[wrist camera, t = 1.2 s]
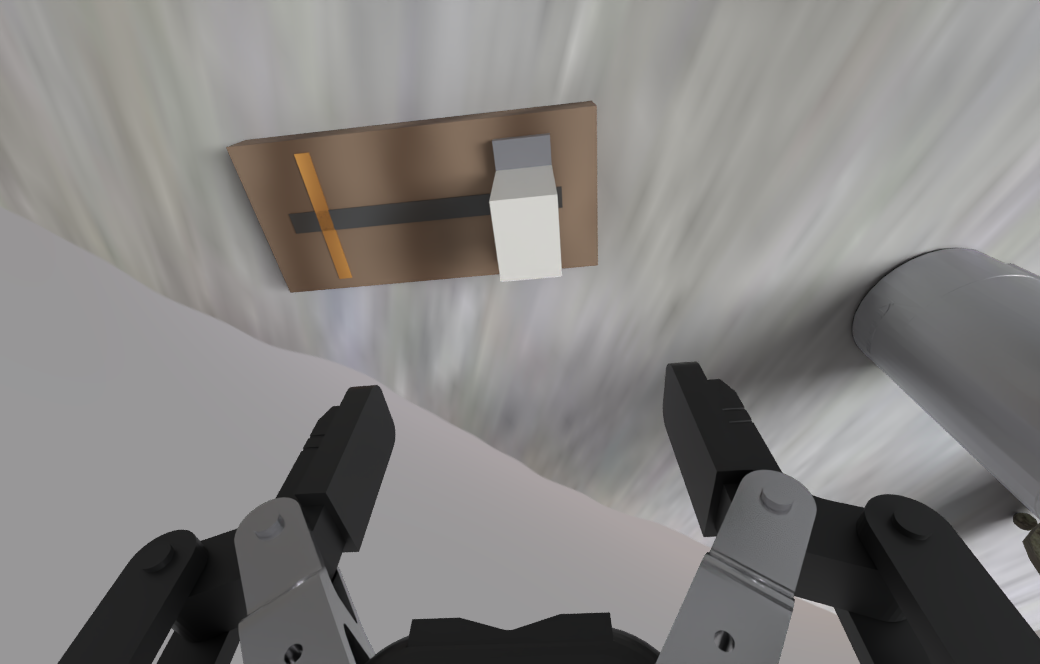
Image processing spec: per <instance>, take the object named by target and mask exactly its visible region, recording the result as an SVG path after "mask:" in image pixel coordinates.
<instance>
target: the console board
mask: <svg viewBox="0 0 1040 664" xmlns="http://www.w3.org/2000/svg"><path fill="white" fill-rule="evenodd" d="M546 133H550V145H551V162H552V169H553V174H554V179H555V185H556V190H557V196H558V214H559V232H560V249H561V267H562V268H573V267H584V266H596V265H598V235H597V106H596V105H595V104H594V103H593V102H592V101H586V102H577V103H569V104H560V105H551V106H542V107H533V108H525V109H516V110H507V111H498V112H489V113H481V114H472V115H463V116H454V117H445V118H436V119H428V120H419V121H410V122H401V123H392V124H384V125H375V126H366V127H357V128H348V129H340V130H331V131H322V132H313V133H304V134H295V135H287V136H278V137H269V138H260V139H251V140H245V141H242V142H239V143H237V144H234V145H231V146H229V147H226V148H227V151H228V153H229V155H230V157H231V160H232V162H233V164H234V166H235V169H236V171H237V173H238V175H239V178H240V180H241V182H242V184H243V187H244V189H245V191H246V193H247V196H248V198H249V200H250V202H251V205H252V207H253V209H254V211H255V214H256V216H257V218H258V220H259V223H260V225H261V227H262V229H263V232H264V234H265V236H266V238H267V241H268V243H269V245H270V247H271V250H272V252H273V254H274V256H275V259H276V261H277V263H278V265H279V268H280V270H281V272H282V274H283V277H284V279H285V281H286V284H287V286H288V288H289V290H290V293H291V292H303V291H314V290H325V289H336V288H348V287H359V286H370V285H381V284H393V283H404V282H415V281H427V280H438V279H449V278H460V277H472V276H483V275H494V274H500V273H499V266H498V259H497V252H496V245H495V238H494V231H493V224H492V217H491V210H490V203H489V200H490V196H491V191H492V187H493V182H494V177H495V173H496V167H495V160H494V152H493V144H492V140H493V139H500V138H509V137H518V136H528V135H537V134H546Z"/></svg>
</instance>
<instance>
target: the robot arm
mask: <svg viewBox="0 0 1040 664" xmlns="http://www.w3.org/2000/svg"><path fill="white" fill-rule="evenodd" d="M852 327H853V337H854V340H855V343H856V345H857V346H858V347H859V348H860V349H861V351H862V352H863V353H864V354H865V355H867V356H868V357H869V358H870V359H871V360H872V361H873V362H874V363H875V364H876V365H877V366H878V367H879V368H880V369H881V370H882V371H883V372H885V373H886V374H887V375H888V376H889V377H890V378H891V379H892V380H893V381H894V382H895V383H896V384H897V385H898V386H899V387H900V388H901V389H902V390H903V391H904V392H905V393H906V394H907V395H908V396H909V397H911V398H912V399H913V400H914V401H915V402H916V403H917V404H918V405H919V406H920V407H921V408H922V409H923V410H924V411H925V412H926V413H927V414H929V415H930V416H931V417H932V418H933V419H934V420H935V421H936V422H937V423H938V424H939V425H940V426H941V427H942V428H943V429H944V430H945V431H946V432H948V433H949V434H950V435H951V436H952V437H953V438H954V439H955V440H956V441H957V442H958V443H959V444H960V445H961V446H962V447H963V448H964V449H966V450H967V451H968V452H969V453H970V454H971V455H972V456H973V457H974V458H975V459H976V460H977V461H978V462H979V463H980V464H981V465H982V466H984V467H985V468H986V469H987V470H988V471H989V472H990V473H991V474H992V475H993V476H994V477H995V478H996V479H997V480H998V481H999V482H1000V483H1001V484H1003V485H1004V486H1005V487H1006V488H1007V489H1008V490H1009V491H1010V492H1011V493H1012V494H1013V495H1014V496H1015V497H1016V498H1017V499H1018V500H1019V501H1021V502H1022V503H1023V504H1024V505H1025V506H1026V507H1027V508H1028V509H1029V510H1030V511H1031V512H1032V513H1033V514H1034V515H1035V516H1036V517H1037V518H1039V519H1040V276H1038V275H1036V274H1034V273H1031V272H1029V271H1027V270H1025V269H1023V268H1021V267H1019V266H1017V265H1015V264H1011V263H1010V264H1005V263H1003V262H1001V261H999V260H997V259H995V258H993V257H990V256H988V255H986V254H984V253H981V252H979V251H976V250H973V249H965V248H953V249H943V250H939V251H935V252H931V253H927V254H925V255H922V256H920V257H917V258H915V259H912V260H910V261H908V262H907V263H905V264H903V265H901V266H899V267H898V268H896V269H894V270H893V271H892V272H890V273H889V274H888V275H886V276H885V277H884V278H882V279H881V280H880V281H879V282H878V283H877V284H876V285H875V286H874V287H873V288H872V289H871V290H870V291H869V292H868V294H867V295H866V296H865V298H864V299H863V301H862V302H861V304H860V306H859V308H858V310H857V312H856V314H855V317H854V321H853V325H852ZM663 417H664V423H665V427H666V430H667V433H668V436H669V439H670V442H671V444H672V447H673V450H674V453H675V456H676V459H677V462H678V465H679V468H680V470H681V473H682V476H683V479H684V482H685V485H686V488H687V491H688V493H689V496H690V499H691V502H692V505H693V508H694V511H695V514H696V517H697V519H698V522H699V525H700V528H701V531H702V534H703V537H714V536H717V537H716V539H715V541H714V544H713V546H712V548H711V550H710V552H709V553H708V552H707V553H706V554H705V556H704V558H703V560H702V562H701V564H700V566H699V568H698V570H697V573H696V575H695V577H694V579H693V582H692V584H691V586H690V588H689V591H688V593H687V595H686V597H685V600H684V602H683V604H682V606H681V608H680V610H679V613H678V615H677V617H676V619H675V622H674V624H673V626H672V628H671V630H670V633H669V635H668V637H667V639H666V642H665V644H664V646H663V648H662V651H661V653H660V652H659V651H658V650H656V649H655V648H654V647H652V646H651V645H649V644H648V643H647V642H645V641H643V640H641V639H639V638H638V637H636V636H634V635H632V634H629V633H627V632H625V631H621V630H618V629H615V628H612V625H611V618H610V613H582V614H559V615H556V616H553V617H550V618H547V619H544V620H541V621H538V622H535V623H532V624H529V625H526V626H523V627H520V628H517V629H514V630H503V629H499V628H496V627H492V626H488V625H484V624H480V623H477V622H473V621H470V620H466V619H462V618H438V619H413V620H412V624H411V629H410V634H409V636H407V637H404V638H402V639H400V640H398V641H396V642H394V643H392V644H390V645H389V646H387V647H385V648H384V649H382V650H381V651H380V652H378V653H377V654H375V652H374V650H373V648H372V646H371V644H370V642H369V640H368V638H367V636H366V634H365V632H364V630H363V627H362V625H361V622H360V620H359V617H358V615H357V612H356V609H355V607H354V604H353V602H352V599H351V597H350V594H349V591H348V589H347V586H346V584H345V581H344V579H343V576H342V574H341V571H340V569H339V567H338V563H339V560H340V557H341V555H342V552H359V550H360V547H361V544H362V541H363V538H364V535H365V531H366V529H367V526H368V523H369V520H370V517H371V513H372V510H373V507H374V504H375V501H376V498H377V495H378V492H379V489H380V486H381V483H382V480H383V477H384V474H385V471H386V468H387V465H388V462H389V459H390V456H391V453H392V450H393V447H394V442H395V426H394V422H393V419H392V417H391V414H390V412H389V409H388V406H387V403H386V401H385V398H384V396H383V393H382V390H381V389H380V387H379V386H378V385H371V386H358V387H351V388H349V389H348V391H347V392H346V394H345V396H344V399H343V400H342V402H341V404H340V406H333V407H332V408H331V409H329V411H327V412H326V413H325V414H324V415H323V416H322V417H321V418H320V419H319V420H318V422H317V424H316V426H315V427H314V429H313V431H312V433H311V435H310V438H309V439H308V440H307V442H306V444H305V446H304V447H303V449H304V450H303V451H301V453H300V455H299V457H298V458H297V460H296V462H295V464H294V466H293V468H292V469H291V471H290V473H289V475H288V477H287V479H286V481H285V482H284V484H283V486H282V488H281V490H280V491H279V493H278V495H277V497H276V498H275V499H273V500H270V501H268V502H265V503H263V504H261V505H260V506H258V507H257V508H255V509H254V510H253V511H251V512H250V513H249V514H248V515H247V516H246V517H245V519H243V521H242V522H241V523H240V525H239V527H238V529H235V530H232V531H229V532H226V533H223V534H220V535H217V536H214V537H212V538H208V539H205V540H202V541H200V540H199V539H198V538H197V537H196V536H195V535H194V534H193V533H192V532H190V531H188V530H176V531H172V532H168V533H166V534H164V535H161V536H159V537H157V538H156V539H154V540H152V541H151V542H150V543H148V544H147V545H145V546H144V547H143V548H142V549H141V550H140V551H138V552H137V553H136V554H135V556H134V557H133V558H132V559H131V560H130V562H129V563H128V564H127V566H126V567H125V568H124V570H123V571H122V573H121V574H120V575H119V577H118V578H117V580H116V581H115V583H114V584H113V585H112V587H111V588H110V590H109V591H108V592H107V594H106V595H105V597H104V598H103V600H102V601H101V602H100V604H99V606H98V607H97V608H96V610H95V611H94V612H93V614H92V615H91V617H90V618H89V620H88V621H87V622H86V624H85V625H84V627H83V628H82V630H81V631H80V632H79V634H78V635H77V637H76V638H75V639H74V641H73V642H72V644H71V645H70V647H69V648H68V649H67V651H66V652H65V654H64V655H63V657H62V658H61V660H60V661H59V662H58V664H152V662H153V660H154V658H155V657H156V655H157V653H158V651H159V649H160V648H161V646H162V644H163V642H164V640H165V638H166V637H167V635H168V633H169V631H170V629H171V628H172V629H173V630H174V633H173V634H172V636H171V638H170V640H169V642H168V644H167V645H166V647H165V649H164V651H163V653H162V655H161V657H160V658H159V660H158V662H157V664H230V662H231V660H232V658H233V655H234V653H235V651H236V648H237V646H238V644H239V641H240V644H241V651H242V657H243V663H244V664H779V660H780V656H781V652H782V649H783V645H784V641H785V638H786V634H787V630H788V626H789V622H790V619H791V615H792V611H793V607H794V601H795V599H793V597H794V596H796V597H800V598H803V599H807V600H811V601H814V602H818V603H821V604H825V605H828V606H832V607H834V609H835V611H836V613H837V615H838V617H839V619H840V622H841V624H842V626H843V628H844V630H845V632H846V634H847V636H848V639H849V641H850V642H851V645H852V647H853V649H854V651H855V653H856V656H857V657H858V660H859V662H860V664H1040V638H1039V637H1038V636H1037V635H1036V633H1035V632H1034V631H1033V629H1032V628H1031V627H1030V626H1029V624H1028V623H1027V622H1026V620H1025V619H1024V618H1023V617H1022V615H1021V614H1020V613H1019V612H1018V610H1017V609H1016V608H1015V606H1014V605H1013V604H1012V603H1011V601H1010V600H1009V599H1008V598H1007V596H1006V595H1005V594H1004V592H1003V591H1002V590H1001V589H1000V587H999V586H998V585H997V583H996V582H995V581H994V580H993V578H992V577H991V576H990V575H989V573H988V572H987V571H986V569H985V568H984V567H983V566H982V564H981V563H980V562H979V561H978V559H977V558H976V557H975V555H974V554H973V553H972V552H971V550H970V549H969V548H968V547H967V545H966V544H965V543H964V541H963V540H962V539H961V538H960V536H959V535H958V534H957V533H956V531H955V530H954V529H953V527H952V526H951V525H950V524H949V523H948V522H947V521H946V520H945V519H944V518H943V517H942V516H941V515H940V514H938V513H937V512H936V511H934V510H933V509H931V508H929V507H928V506H926V505H924V504H922V503H920V502H918V501H916V500H913V499H911V498H907V497H904V496H899V495H891V494H886V495H879V496H876V497H873V498H872V499H870V500H869V501H868V503H867V504H866V506H865V508H863V507H858V506H854V505H849V504H844V503H839V502H834V501H830V500H826V499H822V498H819V497H816V496H813V495H811V493H810V492H809V491H808V489H807V488H806V487H805V486H804V485H803V484H801V483H800V482H799V481H797V480H796V479H794V478H792V477H790V476H788V475H786V474H784V473H782V471H781V470H780V468H779V466H778V465H777V463H776V461H775V459H774V458H773V456H772V454H771V452H770V451H769V449H768V447H767V445H766V444H765V442H764V440H763V439H762V437H761V435H760V433H759V432H758V430H757V428H756V426H755V425H754V423H752V421H751V418H750V416H749V414H748V413H747V411H746V410H745V409H744V406H743V404H742V402H741V400H740V399H739V397H738V395H737V393H736V392H735V391H734V390H733V389H731V388H730V387H729V386H728V385H726V384H725V383H724V382H723V381H721V380H720V379H714V380H707V378H706V376H705V374H704V373H703V371H702V369H701V367H700V365H699V363H698V362H684V363H671V364H668V365H667V367H666V376H665V387H664V398H663Z"/></svg>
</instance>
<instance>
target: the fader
mask: <svg viewBox="0 0 1040 664" xmlns="http://www.w3.org/2000/svg"><path fill="white" fill-rule="evenodd" d="M492 144H493V152H494V160H495V167H496V173H495V177H494V182H493V187H492V191H491V196H490V200H489V203H490V210H491V217H492V224H493V231H494V238H495V245H496V252H497V259H498V266H499V273H500V280H501V282H505V281H517V280H528V279H540V278H551V277H562V267H561V249H560V232H559V214H558V196H557V190H556V185H555V179H554V174H553V169H552V162H551V145H550V133H546V134H537V135H528V136H518V137H509V138H500V139H493V140H492Z"/></svg>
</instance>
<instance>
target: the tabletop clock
mask: <svg viewBox="0 0 1040 664" xmlns="http://www.w3.org/2000/svg"><path fill="white" fill-rule="evenodd" d="M1013 522H1014V524H1015V525H1017V526H1018V527H1019V528H1020V529H1023V530H1028V531H1029V530H1031V531H1030V532H1029V534H1028V535H1027V536H1026V538H1025V539H1024V540H1023V541H1022V542H1023V544H1024V547H1025V549H1026V552H1027V554H1028V557H1029V559H1030V561H1031V562H1032V564H1033V565H1034V567H1035V568H1036V570H1037V571H1038V573H1039V574H1040V523H1039V524H1038V523H1037V520H1036V519H1035V518H1034V517H1032V516H1031V515H1030V514H1026V513H1017V514H1015V515H1014V516H1013Z"/></svg>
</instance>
